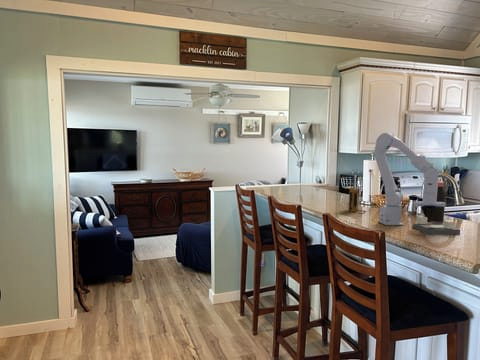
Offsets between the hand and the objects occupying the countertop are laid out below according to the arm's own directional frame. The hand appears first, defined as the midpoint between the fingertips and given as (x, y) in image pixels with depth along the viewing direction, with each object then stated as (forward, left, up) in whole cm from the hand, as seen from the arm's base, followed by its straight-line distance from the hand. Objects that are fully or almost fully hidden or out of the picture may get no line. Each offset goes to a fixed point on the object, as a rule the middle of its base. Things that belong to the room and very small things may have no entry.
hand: (427, 221), depth 170 cm
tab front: (+4, -9, -1) cm, 10 cm away
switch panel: (+1, -5, -3) cm, 6 cm away
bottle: (+14, +15, -3) cm, 21 cm away
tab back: (-3, 0, -1) cm, 3 cm away
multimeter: (-16, +40, -3) cm, 44 cm away
